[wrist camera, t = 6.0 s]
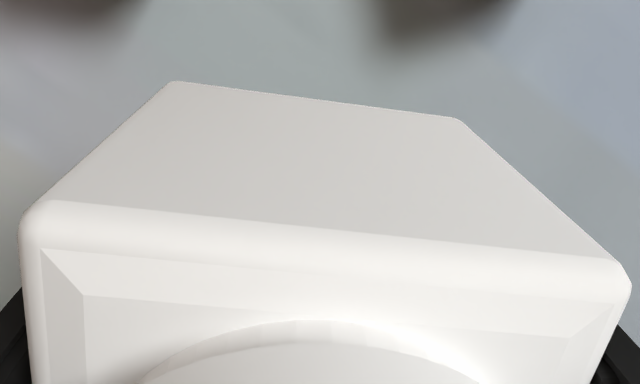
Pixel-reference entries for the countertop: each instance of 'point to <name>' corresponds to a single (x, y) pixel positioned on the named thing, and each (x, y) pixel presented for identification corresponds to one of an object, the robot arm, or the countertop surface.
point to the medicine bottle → (306, 254)
